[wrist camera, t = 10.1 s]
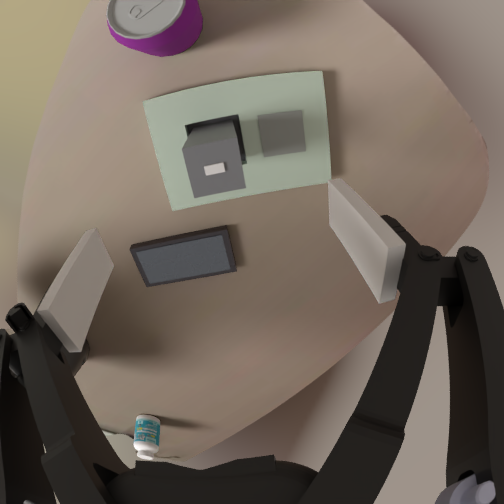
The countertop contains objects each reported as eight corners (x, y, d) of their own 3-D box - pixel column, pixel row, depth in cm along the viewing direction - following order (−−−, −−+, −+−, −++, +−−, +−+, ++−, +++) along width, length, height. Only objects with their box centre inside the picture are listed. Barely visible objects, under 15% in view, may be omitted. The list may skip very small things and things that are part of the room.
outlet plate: (174, 204, 36) (172, 211, 34) (146, 100, 28) (142, 101, 26) (326, 177, 36) (331, 182, 34) (316, 71, 28) (322, 70, 26)
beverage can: (168, 70, 27) (141, 65, 17) (124, 34, 23) (80, 18, 13) (218, 25, 24) (216, -3, 14) (172, -11, 20) (150, -49, 11)
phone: (148, 281, 43) (146, 287, 42) (131, 244, 39) (129, 249, 38) (236, 266, 43) (236, 271, 41) (226, 225, 39) (226, 229, 38)
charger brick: (201, 162, 33) (194, 199, 24) (193, 127, 31) (181, 149, 21) (238, 155, 33) (246, 188, 24) (232, 119, 31) (237, 137, 21)
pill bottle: (159, 415, 70) (157, 456, 59) (161, 423, 74) (159, 462, 63) (134, 411, 69) (130, 452, 57) (137, 420, 73) (134, 458, 61)
